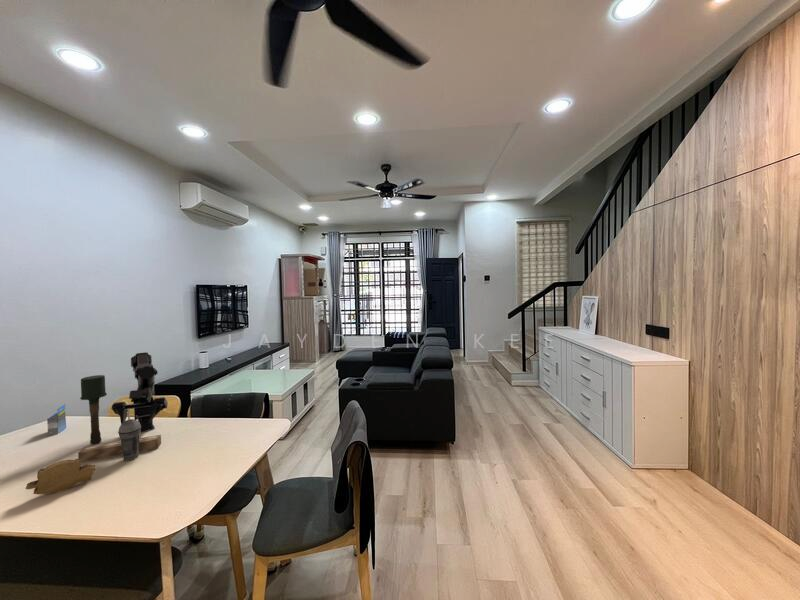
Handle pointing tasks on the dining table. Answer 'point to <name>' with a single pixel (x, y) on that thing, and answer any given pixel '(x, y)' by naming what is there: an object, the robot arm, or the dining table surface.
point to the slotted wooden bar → (116, 448)
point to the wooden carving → (61, 476)
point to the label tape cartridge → (57, 421)
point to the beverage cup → (130, 438)
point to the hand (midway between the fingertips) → (135, 424)
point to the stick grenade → (93, 402)
